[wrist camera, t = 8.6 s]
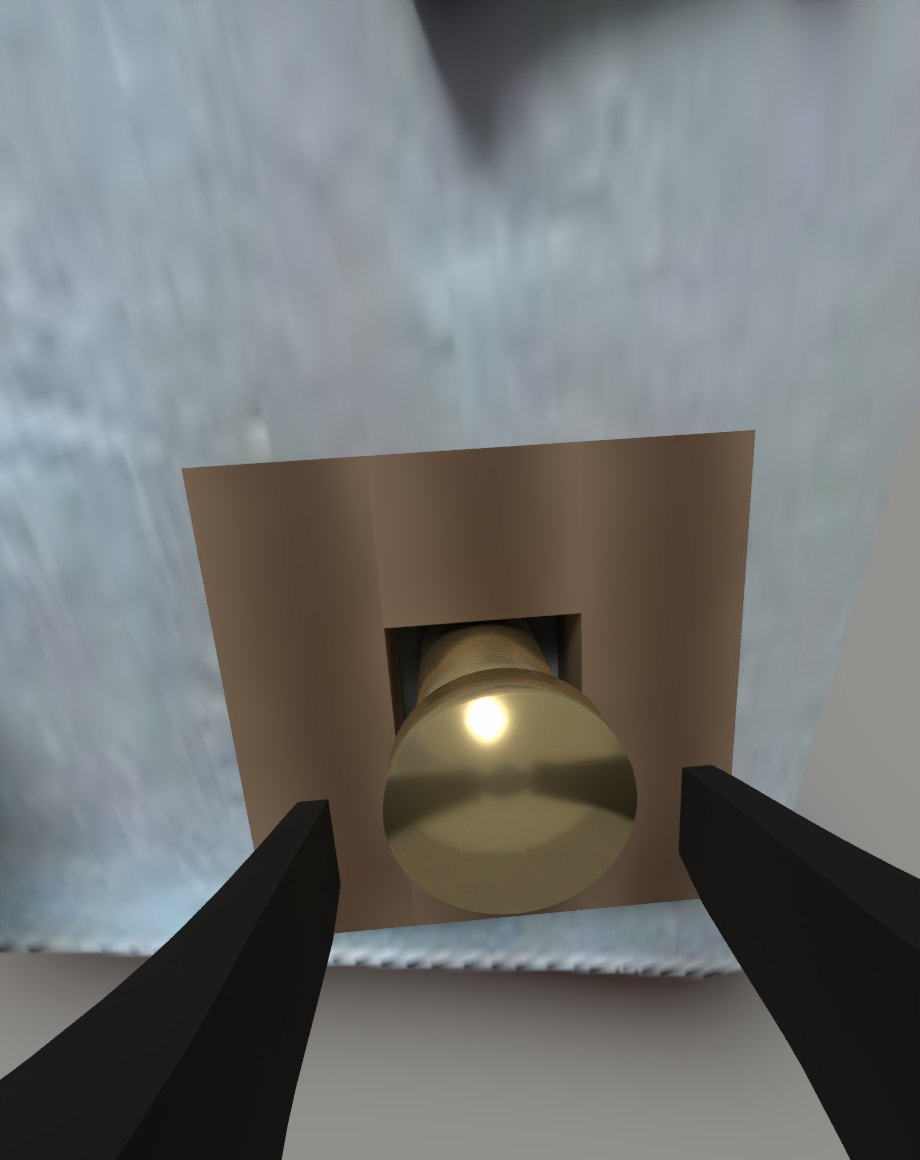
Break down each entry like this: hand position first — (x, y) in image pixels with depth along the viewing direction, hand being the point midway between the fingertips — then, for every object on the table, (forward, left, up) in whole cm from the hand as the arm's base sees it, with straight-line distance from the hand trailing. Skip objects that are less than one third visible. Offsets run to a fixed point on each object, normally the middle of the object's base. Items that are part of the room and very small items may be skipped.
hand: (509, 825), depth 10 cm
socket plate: (0, 0, -8) cm, 8 cm away
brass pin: (0, +1, -8) cm, 8 cm away
